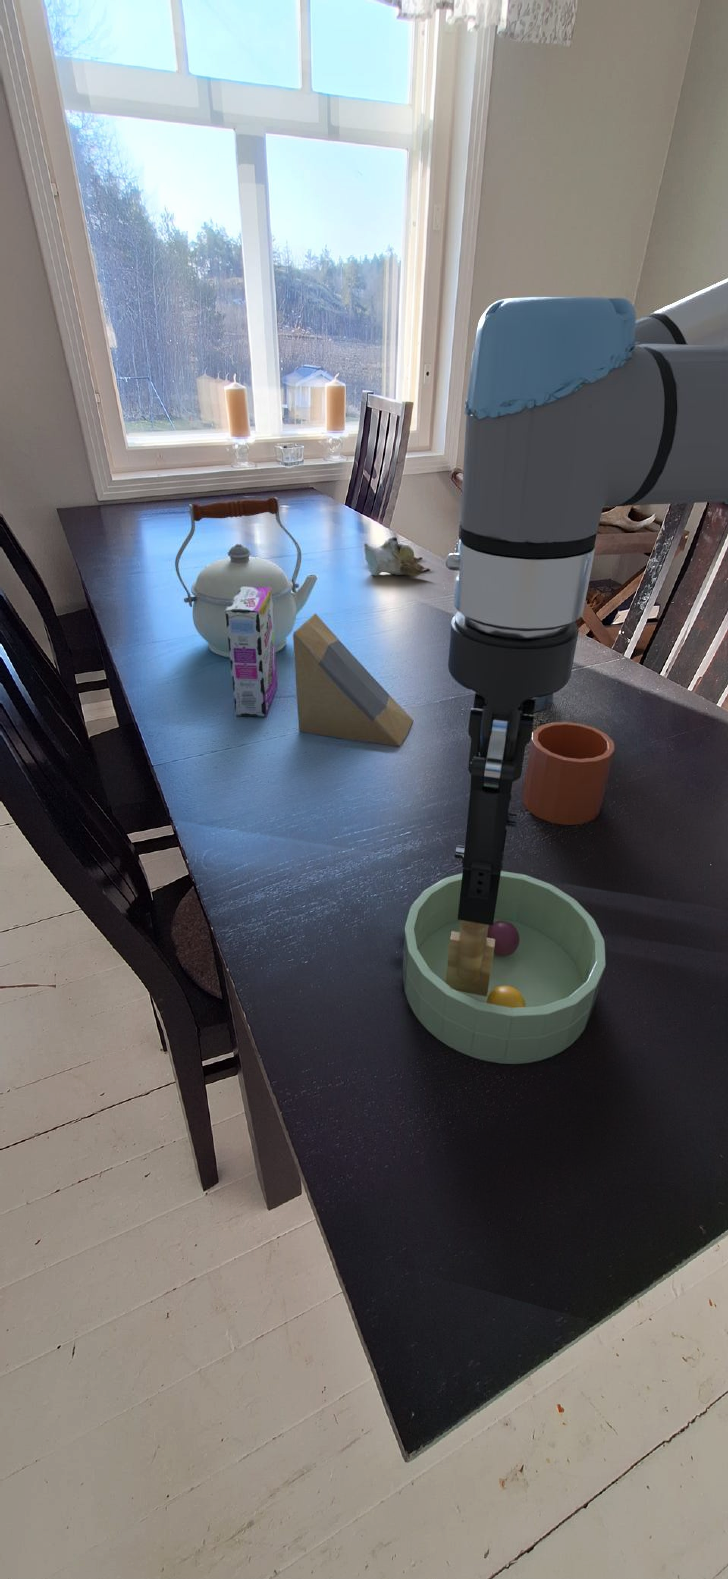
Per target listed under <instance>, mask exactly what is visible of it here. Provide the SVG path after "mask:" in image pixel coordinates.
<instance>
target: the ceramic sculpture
mask: <svg viewBox="0 0 728 1579" xmlns="http://www.w3.org/2000/svg"><path fill="white" fill-rule="evenodd" d="M363 547H364V557H365V558H364V560H365V562H366V563H367V566H368V570H369V572H370V574H371V575H373V576H375V577H377V576H379V575H380V574H381V573H386V574H387V573H388V574H391V575H393V574H395V575H396V576H402V575H408V576H418V575H423V574H425V573H428V572H430V571H431V568H427V567H424V566H423V565H422V564H420V563H419V562H421V561H422V560H423V557H420V556H419V557H416V556H415V552H414V549H413V548H412V546H411V545H410V544H408V543H407V542H405V541H402V542H400V541H398V538H397V536H395V537H390V538H388V539H387V540H385V541H384V543H383V544H381V545H374V544H371V543H367V542H366V543H365V542H364V545H363ZM395 575H394V576H395Z"/></svg>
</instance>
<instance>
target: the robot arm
mask: <svg viewBox="0 0 728 1579" xmlns="http://www.w3.org/2000/svg"><path fill="white" fill-rule="evenodd" d="M464 415H465V416H466V417H465V430H464V431H465V432H464V433H465V434H464V435H465V436H464V447H463V448H464V450H463V465H462V466H463V468H462V484H461V485H462V486H461V487H462V488H461V500H460V501H461V504H460V506H461V507H460V521H459V527H458V544H457V552H455V553H448V555H447V557H446V559H445V566H446V568H447V569H448V570H450V571H455V572H459V573H458V574H457V575H456V578H455V581H454V593H453V594H454V595H453V596H454V597H453V607H454V608H455V609H456V610H457V612H456V614H454V615H453V617H452V618H451V621H450V634H449V646H448V647H449V648H448V659H447V660H448V662H447V667H448V668H447V669H448V671H449V674H450V676H451V677H452V679H454V681H455V682H457V684H459V685H460V686H462V688H463V687H464V688H465V689H467V690H470V691H473V692H475V694H474V699H473V707H471V709H470V714H469V720H468V728H467V729H468V730H467V731H468V732H467V733H468V736H469V738H470V747H469V757H468V765H467V769H468V773H469V774H470V790H469V801H468V812H467V821H466V831H465V832H466V833H465V843H464V845H459V844H456V848H455V853H454V859H458V860H459V859H460V860H461V864H462V865H461V868H462V882H461V892H460V901H459V910H458V920H463V921H469V922H475V923H480V924H486V925H491V926H493V922H494V915H495V908H496V902H497V895H498V888H499V882H500V875H501V871H503V864H504V857H505V856H504V855H505V853H504V851H505V846H506V845H505V844H506V839H507V832H508V829H507V827H511V828H512V827H513V828H517V820H518V813H515V812H514V813H513V812H509V808H510V803H511V801H512V789H513V784H514V782H515V781H518V780H519V779H520V778H521V777H522V771H523V766H524V760H525V759H524V758H525V753H526V747H527V745H528V744H529V743H531V738H532V733H533V728H534V720H535V712H534V708H535V701H536V697H544V696H547V695H550V694H553V695H554V694H555V693H557V692H559V691H560V690H562V689H563V688H564V687H565V686H566V685H567V684H568V683H569V681H570V679H571V675H572V671H573V665H574V659H575V654H576V649H577V643H578V639H579V638H578V637H579V632H580V631H579V627H578V625H577V624H576V621H578V620H579V619H580V618H581V617H583V614H584V612H585V607H586V601H587V595H588V589H589V585H590V584H589V583H590V580H591V579H590V578H591V572H592V567H593V562H594V556H595V551H596V540H597V534H598V529H599V525H600V521H601V517H602V513H603V508H604V507H612V508H613V507H627V506H647V505H648V506H649V505H675V504H698V503H701V504H702V503H725V504H726V505H728V278H726V279H724V280H721V281H720V282H717V283H716V284H713V285H711V286H709V287H706V288H704V289H702V290H700V291H697V292H695V293H693V294H691V295H689V296H686V297H685V298H683V299H679V300H678V301H676V302H673V303H672V304H669V305H666V306H664V307H663V308H660V309H657V310H656V311H654V312H652V313H651V314H649V315H647V316H646V315H645V316H644V317H641V318H639V319H637V312H636V308H635V306H634V304H633V303H632V302H631V300H628V299H627V298H622V297H602V296H601V297H600V296H599V297H597V296H533V297H532V296H530V297H529V296H527V297H511V298H509V297H507V298H503V299H499V300H497V301H495V302H494V303H492V304H491V305H489V306H488V307H487V308H486V309H485V311H484V312H483V314H482V315H481V317H480V319H479V321H478V325H477V329H476V335H475V341H474V348H473V351H472V356H471V365H470V371H469V380H468V388H467V397H466V400H465V403H464Z"/></svg>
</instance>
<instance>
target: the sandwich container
mask: <svg viewBox="0 0 728 1579" xmlns="http://www.w3.org/2000/svg"><path fill="white" fill-rule="evenodd" d="M292 640H293V641H292V642H293V643H292V644H293V654H294V655H293V656H294V658H293V659H294V672H295V687H296V691H295V692H296V705H297V706H296V707H297V719H298V720H297V721H298V731H299V732H301V733H308V734H313V735H318V736H325V737H330V738H337V739H343V740H350V741H357V742H358V741H359V742H366V743H372V744H380V745H385V746H392V747H401V746H402V744H403V743H404V741H405V739H406V737H407V736H408V734H409V732H410V729H411V727H412V724H413V722H414V719H413V718H412V717H411V716H410V714H408V713H407V712H406V710H404V709H403V707H402V706H401V705H400V704H399V703H398V702H397V700H395V699H394V698H393V697H392V696H391V695H390V694H389V693H388V692H387V691H386V689H385V688H384V687H383V686H382V685H381V684H380V683H379V682H378V681H377V680H376V679H375V677H374V676H373V675H371V673H370V672H369V671H368V669H366V668H365V666H363V664H362V663H361V662H360V661H359V660H358V659H357V658H356V657H355V656H354V655H353V653H352V652H350V650H349V649H348V648H347V647H346V646H345V645H344V643H343V642H342V641H341V640H340V639H339V638H338V637H337V635H336V634H334V633H333V631H332V630H331V629H330V628H329V627H328V625H327V624H326V623H325V622H324V620H322V619H321V617H320V616H319V615H318V614H317V613H313V615H312V616H310V618H308V619H307V620H306V621H305V622H304V623H303V624H302V625H300V626H299V627H298V628H297V629H296V630H295V631H294V632H293V634H292Z"/></svg>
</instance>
